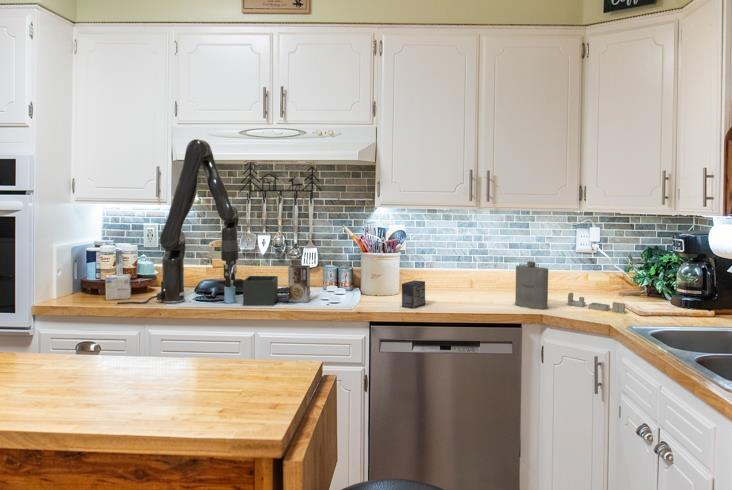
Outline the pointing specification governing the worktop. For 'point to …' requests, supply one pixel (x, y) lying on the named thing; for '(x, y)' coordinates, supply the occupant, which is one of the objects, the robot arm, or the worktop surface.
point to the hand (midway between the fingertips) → (230, 285)
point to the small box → (413, 294)
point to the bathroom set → (596, 304)
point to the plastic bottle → (230, 293)
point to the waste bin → (260, 290)
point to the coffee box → (299, 283)
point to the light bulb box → (118, 286)
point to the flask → (531, 286)
